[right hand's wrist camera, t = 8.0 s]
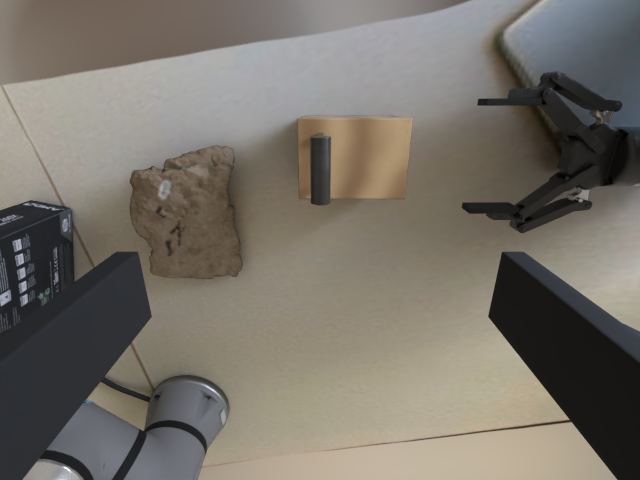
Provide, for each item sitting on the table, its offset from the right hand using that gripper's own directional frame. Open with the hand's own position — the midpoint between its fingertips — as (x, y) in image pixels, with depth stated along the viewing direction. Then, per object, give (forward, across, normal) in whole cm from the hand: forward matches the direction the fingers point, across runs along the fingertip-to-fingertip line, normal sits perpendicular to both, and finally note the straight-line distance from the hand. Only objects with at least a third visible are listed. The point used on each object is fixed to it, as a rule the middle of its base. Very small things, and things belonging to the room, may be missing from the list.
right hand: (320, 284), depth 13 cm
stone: (+41, +19, +10) cm, 46 cm away
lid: (+32, -4, 0) cm, 32 cm away
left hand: (+35, -20, 0) cm, 40 cm away
